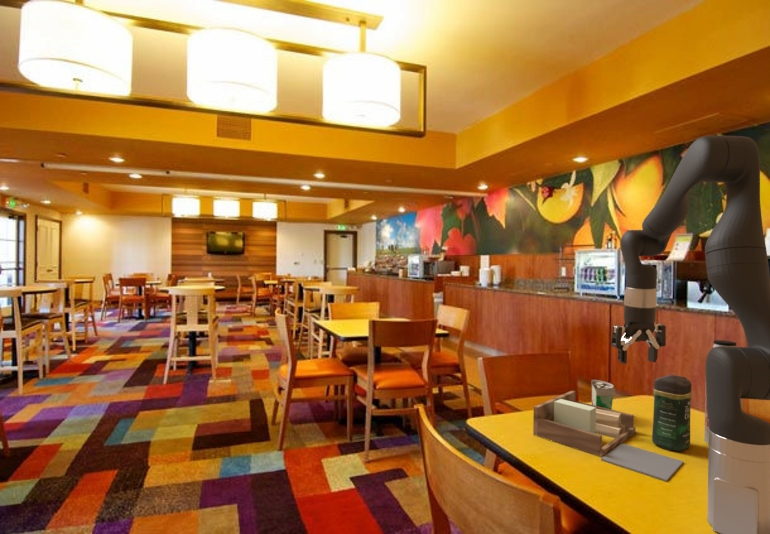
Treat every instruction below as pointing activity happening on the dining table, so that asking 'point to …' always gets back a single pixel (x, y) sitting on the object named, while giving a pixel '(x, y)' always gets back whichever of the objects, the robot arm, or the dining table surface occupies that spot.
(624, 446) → the mat
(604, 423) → the offcut
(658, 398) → the coffee jar
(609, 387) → the food container
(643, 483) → the dining table surface
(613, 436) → the offcut
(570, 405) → the block
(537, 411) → the tray
